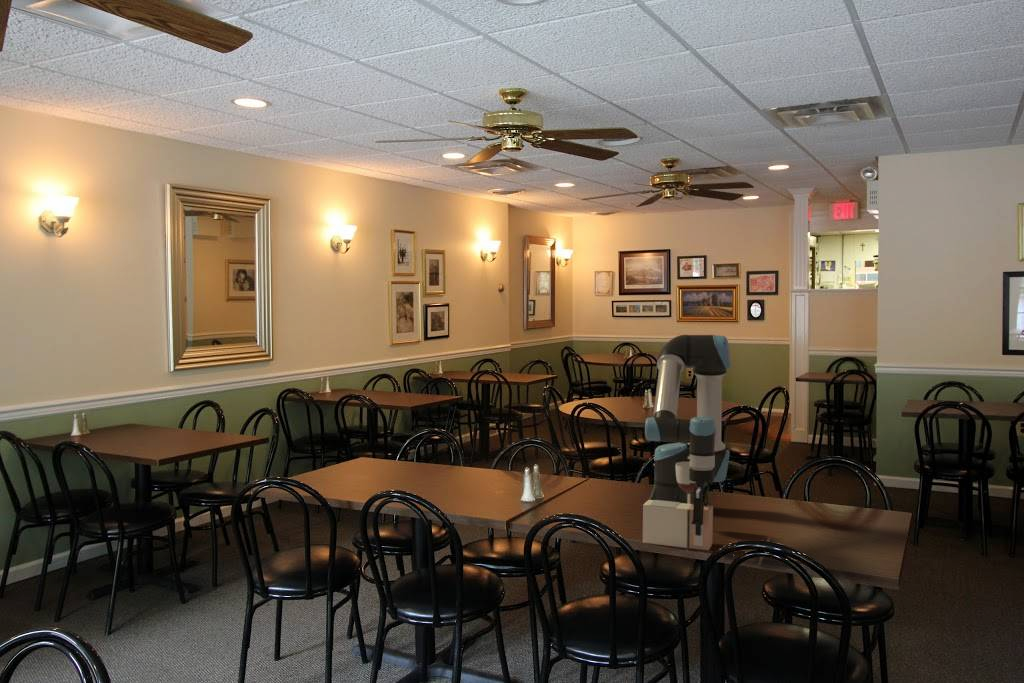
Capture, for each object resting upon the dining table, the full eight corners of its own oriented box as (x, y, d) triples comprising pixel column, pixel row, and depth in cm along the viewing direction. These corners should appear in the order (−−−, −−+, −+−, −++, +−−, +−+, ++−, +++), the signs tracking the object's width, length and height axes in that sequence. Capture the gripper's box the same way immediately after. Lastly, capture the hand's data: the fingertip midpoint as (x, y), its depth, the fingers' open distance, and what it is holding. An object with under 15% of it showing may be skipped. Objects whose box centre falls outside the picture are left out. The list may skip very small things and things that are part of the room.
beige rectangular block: (647, 536, 257) (648, 499, 257) (691, 541, 252) (692, 503, 251) (642, 542, 251) (643, 504, 250) (687, 548, 245) (688, 509, 245)
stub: (692, 541, 252) (693, 503, 251) (712, 544, 249) (713, 505, 249) (688, 548, 245) (689, 509, 245) (708, 550, 243) (709, 511, 242)
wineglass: (669, 529, 267) (670, 464, 266) (685, 524, 274) (686, 460, 273) (691, 535, 261) (692, 468, 260) (707, 529, 268) (708, 464, 267)
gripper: (695, 461, 257) (694, 531, 258) (683, 473, 238) (682, 549, 239) (719, 463, 254) (718, 534, 255) (708, 475, 235) (707, 552, 237)
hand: (700, 541), depth 247 cm, fingers closed on stub, 7 cm apart
